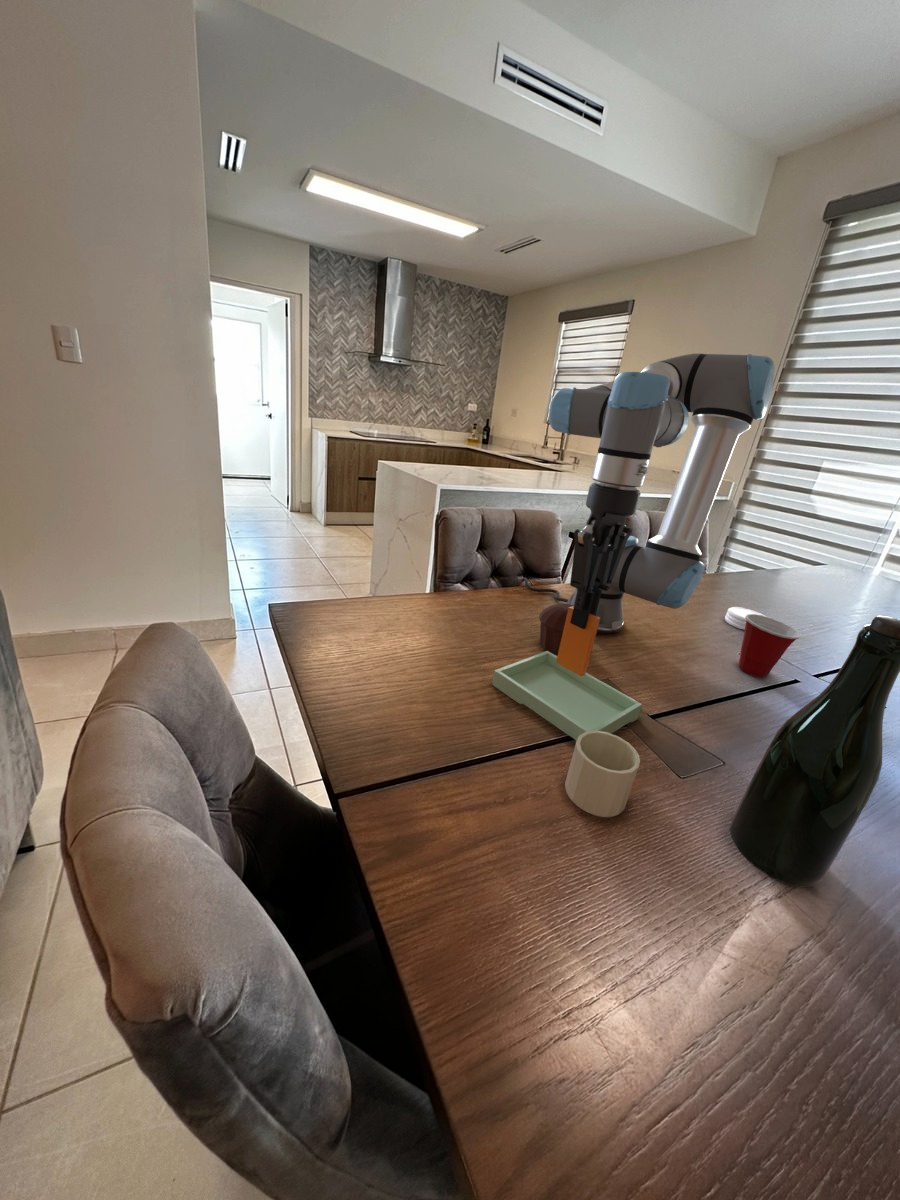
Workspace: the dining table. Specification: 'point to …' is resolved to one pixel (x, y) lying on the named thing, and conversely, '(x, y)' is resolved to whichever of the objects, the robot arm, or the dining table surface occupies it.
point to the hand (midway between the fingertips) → (581, 624)
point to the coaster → (738, 616)
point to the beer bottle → (821, 766)
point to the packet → (577, 644)
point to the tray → (566, 696)
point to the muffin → (553, 626)
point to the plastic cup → (764, 644)
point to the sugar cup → (601, 773)
